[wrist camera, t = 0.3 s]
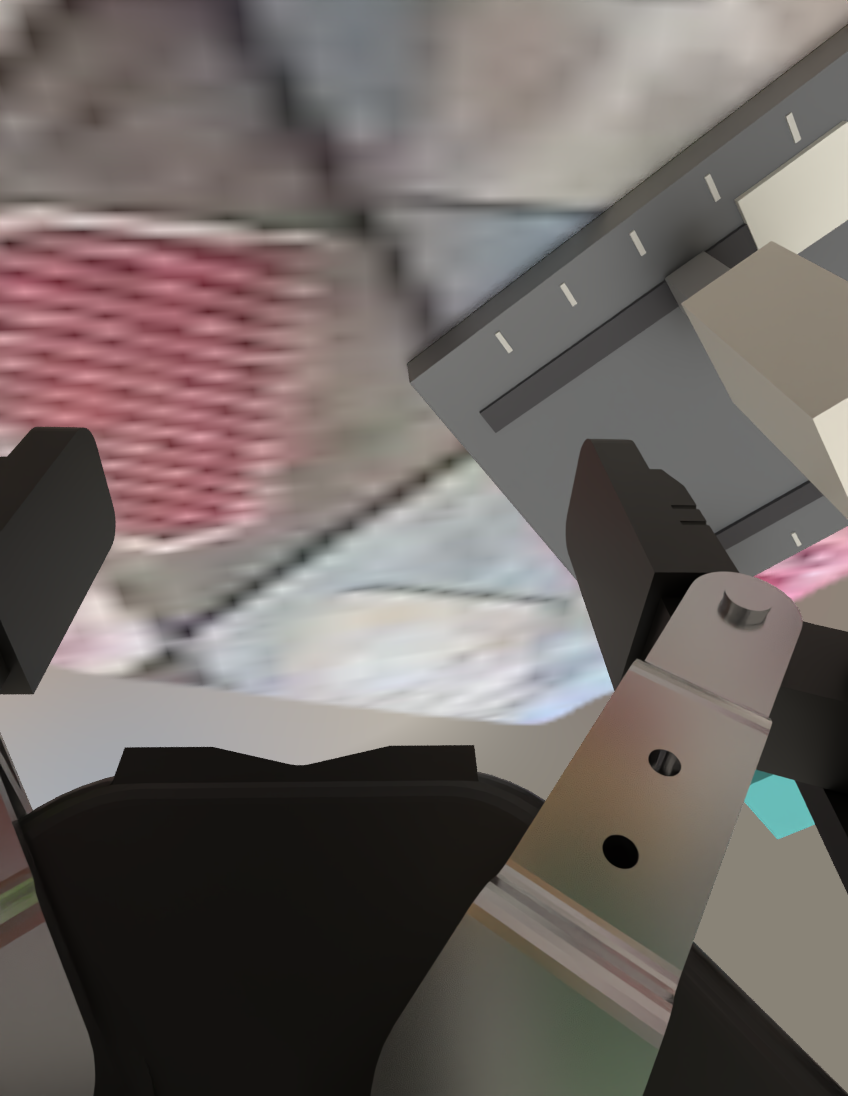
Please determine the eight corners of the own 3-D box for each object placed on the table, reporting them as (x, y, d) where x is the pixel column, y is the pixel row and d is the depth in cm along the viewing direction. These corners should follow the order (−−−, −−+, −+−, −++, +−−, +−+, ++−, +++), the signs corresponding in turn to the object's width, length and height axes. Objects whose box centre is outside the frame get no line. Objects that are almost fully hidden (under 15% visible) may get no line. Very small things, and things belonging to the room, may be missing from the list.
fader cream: (680, 348, 28) (866, 538, 18) (631, 260, 26) (812, 418, 16) (750, 302, 27) (989, 474, 17) (705, 205, 25) (951, 336, 15)
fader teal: (661, 612, 37) (777, 839, 27) (623, 563, 35) (735, 791, 24) (713, 583, 36) (854, 808, 26) (677, 532, 34) (817, 755, 24)
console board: (618, 618, 40) (631, 646, 39) (407, 363, 30) (410, 386, 28) (978, 420, 34) (1013, 443, 32) (866, 10, 24) (908, 9, 22)
